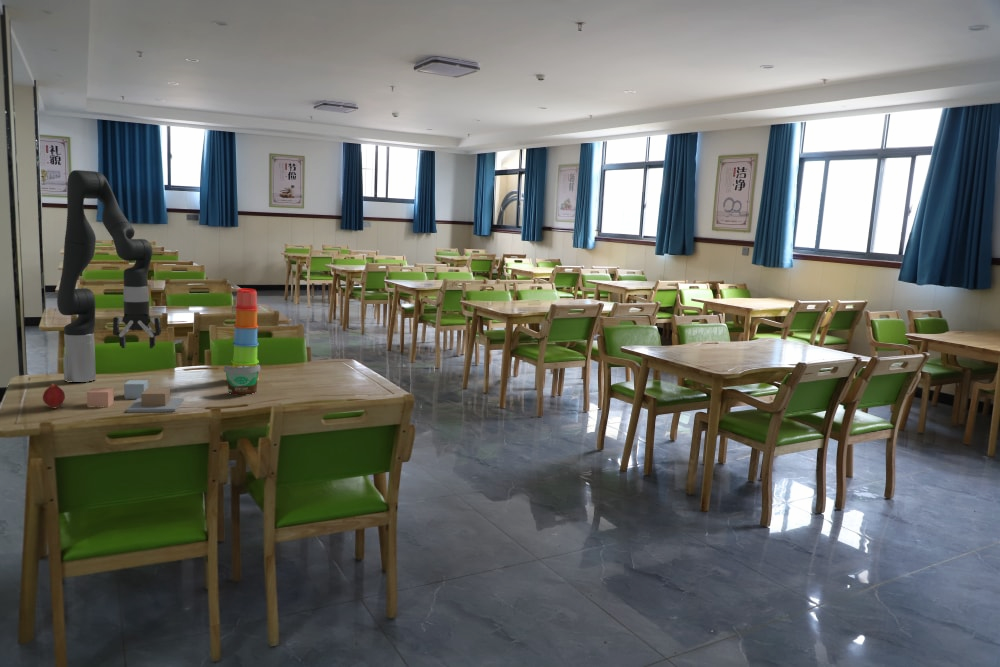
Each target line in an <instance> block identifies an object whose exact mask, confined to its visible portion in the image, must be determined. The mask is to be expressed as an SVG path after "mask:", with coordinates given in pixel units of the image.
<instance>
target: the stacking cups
mask: <svg viewBox="0 0 1000 667" xmlns="http://www.w3.org/2000/svg"><path fill="white" fill-rule="evenodd" d="M257 299H258V293H257V290H256V289H255V288H246V287H243V288H238V289H237V291H236V306H235V307H234V309H235V324H233V327H234V341H233V342H232V345H233V356H232V359H231V361H230V362H231V363H232V367H238V366H257V365H258V364H260V361H259V359H258V346H259V344H260V343H259V342H258V328H259V325H258V310H259V308H258V307H257V306H258V305H257V304H258V300H257ZM258 381H259V377H258Z"/></svg>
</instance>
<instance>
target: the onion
mask: <svg viewBox="0 0 1000 667" xmlns="http://www.w3.org/2000/svg"><path fill="white" fill-rule="evenodd" d="M65 398H66V394H65V392H64V390H63V389H62V388H61V387H59V386H57V385H56V384H55V383H51V384H50V386H48V387H47V388H46V389H45V390H44V393H43V395H42V400H43V402H44V403H45V404H46V405H47V406H48V407H50V408H51V407H57V408H58V407H60V406H61V405H62V404H63V403H64V400H65Z"/></svg>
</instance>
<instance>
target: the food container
mask: <svg viewBox="0 0 1000 667" xmlns="http://www.w3.org/2000/svg"><path fill="white" fill-rule="evenodd" d="M260 371H261V365H260V363H257V366H238V367H233V366H228V365H226V364H225V366H224V368H223V372H225V376H226V384H227V392H229V393H231V394H230V395H232V394H237V395H236V396H244V395H243V394H251V395H253V394H252V393H254V394H256V393H257V391H258V390H257V389H258V382H259V380H258V378H259V372H260ZM255 392H256V393H255ZM229 393H228V394H229Z"/></svg>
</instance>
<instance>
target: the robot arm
mask: <svg viewBox="0 0 1000 667" xmlns="http://www.w3.org/2000/svg"><path fill="white" fill-rule="evenodd" d="M66 183H67V186H66V188H67V190H66V195H67V196H66V197H67V199H66V201H67V202H66V203H67V204H66V207H67V210H66V211H67V212H66V214H67V215H66V227H65V235H64V244H63V246H64V247H63V261H62V271H61V276H60V282H59V288H58V292H57V296H56V298H57V299H56V303H57V304H56V305H57V308H58V312H59V313H60V314H61V315H63V316H77V318H76V319H75V320H74V321H72V322H70V323H68V324H66V325H65V326H64V327H63V332H64V334H63V335H64V338H63V339H64V352H65V354H64V355H63V357H62V358H63V359H62V360H63V362H62V363H63V380H67V381H72V382H86V383H88V382H87V381H92V380H95V379H96V375H97V373H96V351H95V350H96V349H95V348H96V347H95V346H96V345H95V327H96V298H95V294H94V292H93V291H92V290H91V289H90V288H84V287H83V288H76V286H77V283H78V280H79V277H80V276H81V274H82V273H83V272H84V270H85V269H87V267H88V266H89V264H91V262H92V260H93V258H94V257H95V250H96V241H97V240H96V239H97V237H96V234H95V232H94V229H93V227H92V225H91V224H90V222H89V220H88V219H87V216H86V215H85V209H84V208H85V207H84V203H85V202H84V200H85V199H89V200H91V199H94V200H95V199H97V200H98V201H99V202H100V203H101V204H102V205H103V210H102V215H101V216H102V217H101V219H102V220H101V221H102V224H103V226H104V227H105V229H106V230H107V232H108V234H109V235H110V236H111V238H112V241H113V244H114V248H115V251H116V255H117V256H118V257H119V258H120V259H121V260H123V261H127V262H128V261H129V262H130V261H135V263H134V265H133V266H131V267H128V268H126V269H124V270H123V293H122V295H123V296H122V297H123V317H121V316H120V317H119V316H115V317H113V319H112V320H113V321H112V322H113V323H112V335H113V336H117V337H118V339H119V347H121V349H125V348H126V336H125V335H126V334H127V333H128V332H129V330H130V331H143V330H144V331H145V333H147V334H148V336H149V337H148V338H149V349H154V347H155V346H156V337H158V336H160V335H161V334H162V326H161V318H160V317H159V316H156V317H151V316H150V295H149V288H148V286H149V284H148V273H149V269H150V264H151V260H152V257H153V246H152V245H151V242H149V241H148V240H147V239H144V238H134V236H135V229H134V227H133V226H132V225H131V223H130V222H129V219H127V218H126V216H125V214H124V213H123V212H122V209H121V207H120V206H119V204H118V200H117V199H116V196H115V193H114V192H113V190H112V187H111V185H110V184H109V181H108V179H107V177H106V176H105V175H104V174H103V173H101V172H100V171H94V170H93V171H92V170H80V169H79V170H77V169H75V170H72V171H70V173H69V174H68V178H67V182H66ZM122 322H123V323H124V324H125V326H124V328H123V329H122V331H120V324H121V323H122ZM151 322H152V324H153V325H154V328H155V330H153V329H152V327H151V326H150V325H149V324H150V323H151ZM96 380H97V379H96ZM96 380H95V381H96ZM92 382H93V381H92Z"/></svg>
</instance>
